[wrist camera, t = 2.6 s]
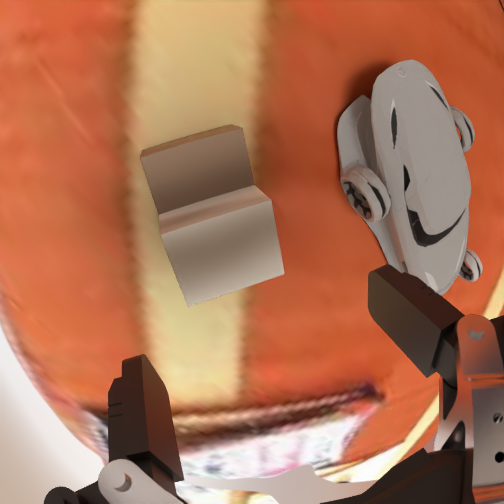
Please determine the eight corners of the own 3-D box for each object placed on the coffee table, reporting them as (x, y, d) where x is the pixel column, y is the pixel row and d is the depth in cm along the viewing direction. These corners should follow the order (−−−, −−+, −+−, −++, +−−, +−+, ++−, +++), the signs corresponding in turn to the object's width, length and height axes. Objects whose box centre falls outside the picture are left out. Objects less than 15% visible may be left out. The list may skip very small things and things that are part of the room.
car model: (393, 328, 30) (421, 358, 26) (297, 100, 17) (342, 104, 13) (463, 265, 30) (494, 288, 25) (414, 42, 17) (466, 41, 13)
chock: (254, 233, 20) (284, 273, 16) (178, 259, 19) (188, 306, 15) (230, 124, 17) (258, 133, 12) (142, 150, 16) (137, 168, 12)
